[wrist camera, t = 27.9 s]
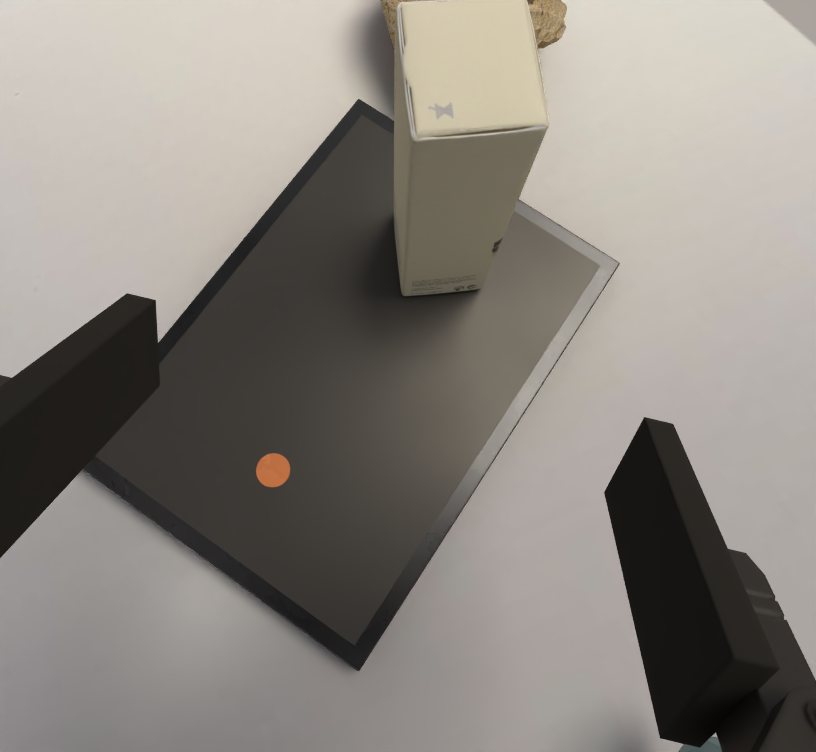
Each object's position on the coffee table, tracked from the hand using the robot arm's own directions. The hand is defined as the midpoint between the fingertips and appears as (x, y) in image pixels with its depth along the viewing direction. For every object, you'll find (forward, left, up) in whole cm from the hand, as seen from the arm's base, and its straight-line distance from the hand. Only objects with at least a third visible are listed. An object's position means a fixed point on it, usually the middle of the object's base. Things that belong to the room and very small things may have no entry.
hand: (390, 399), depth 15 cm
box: (-4, +10, -13) cm, 16 cm away
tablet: (-4, +3, -14) cm, 14 cm away
